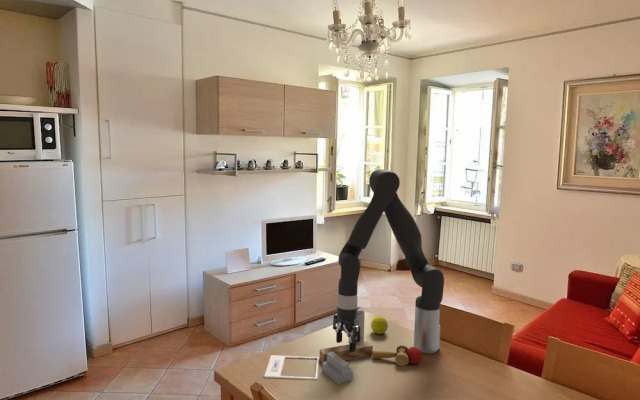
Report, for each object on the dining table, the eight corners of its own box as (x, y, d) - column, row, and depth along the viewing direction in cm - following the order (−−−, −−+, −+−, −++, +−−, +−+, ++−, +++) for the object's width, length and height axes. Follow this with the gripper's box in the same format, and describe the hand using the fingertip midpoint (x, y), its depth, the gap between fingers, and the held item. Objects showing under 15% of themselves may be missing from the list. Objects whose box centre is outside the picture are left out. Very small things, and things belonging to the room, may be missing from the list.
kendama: (372, 368, 155) (423, 367, 151) (371, 350, 156) (421, 348, 152) (374, 361, 163) (422, 360, 159) (373, 344, 163) (421, 343, 159)
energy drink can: (346, 346, 168) (347, 310, 166) (351, 340, 174) (352, 305, 172) (361, 349, 166) (362, 312, 164) (365, 343, 171) (366, 307, 170)
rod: (367, 351, 166) (367, 341, 165) (372, 355, 162) (372, 345, 161) (319, 359, 158) (319, 349, 158) (323, 364, 155) (323, 354, 154)
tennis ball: (370, 329, 185) (371, 313, 184) (387, 330, 184) (387, 314, 183) (371, 336, 178) (371, 320, 177) (387, 337, 177) (388, 321, 176)
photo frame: (271, 354, 159) (319, 356, 158) (271, 357, 159) (319, 359, 159) (264, 375, 145) (317, 377, 144) (264, 378, 145) (317, 381, 144)
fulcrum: (336, 366, 153) (336, 350, 152) (352, 379, 145) (353, 362, 144) (322, 370, 150) (322, 354, 149) (338, 384, 141) (338, 367, 141)
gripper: (367, 309, 153) (365, 352, 155) (344, 297, 165) (342, 337, 167) (350, 313, 149) (348, 357, 151) (328, 300, 161) (326, 341, 163)
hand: (345, 346), depth 159 cm, fingers open, 8 cm apart
